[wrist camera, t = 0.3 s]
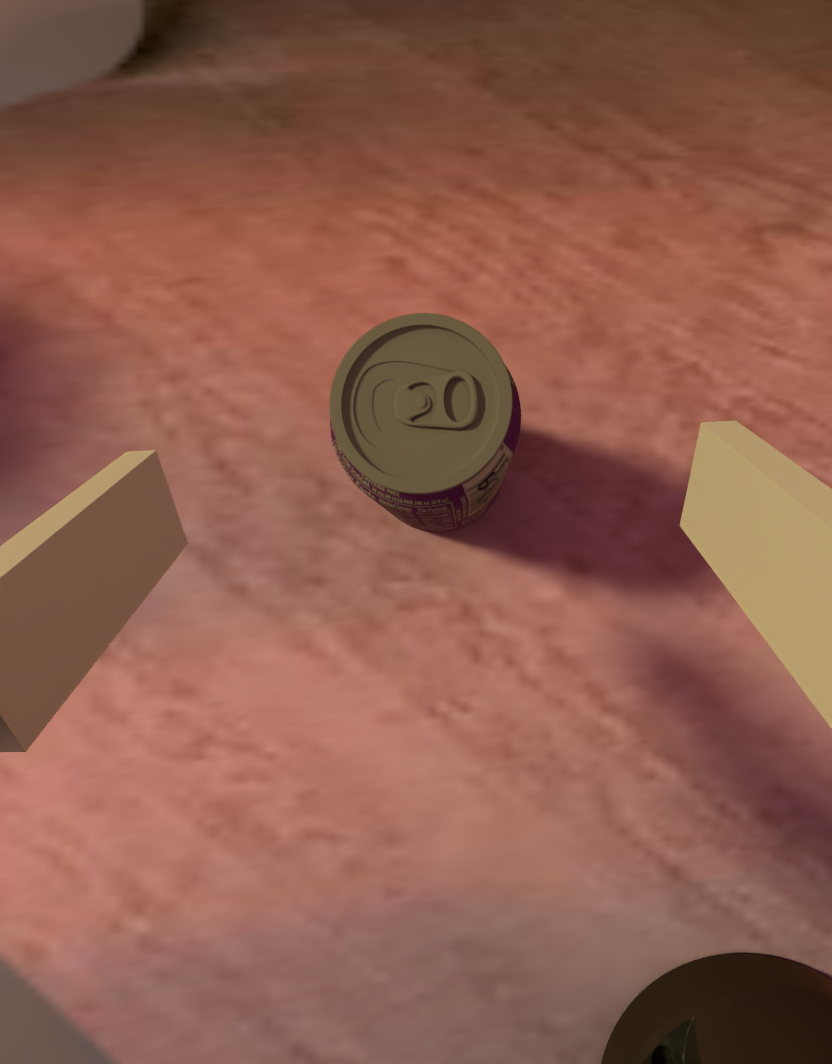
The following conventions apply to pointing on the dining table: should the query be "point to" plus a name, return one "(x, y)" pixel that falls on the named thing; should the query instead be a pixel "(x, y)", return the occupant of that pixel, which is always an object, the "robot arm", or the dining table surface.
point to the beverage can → (425, 420)
